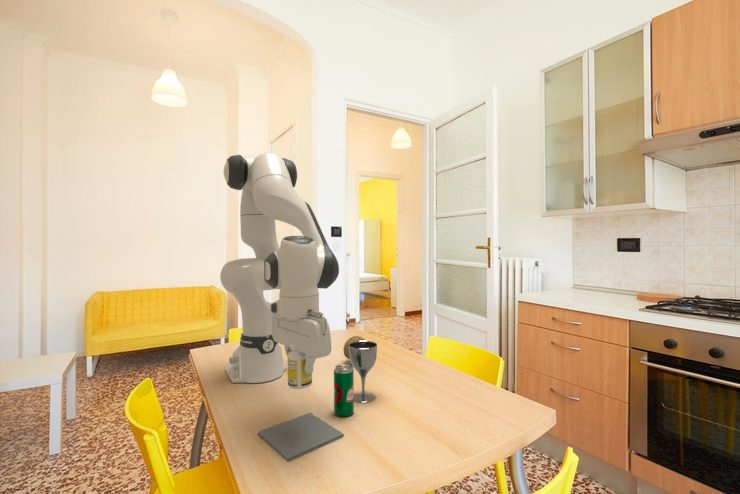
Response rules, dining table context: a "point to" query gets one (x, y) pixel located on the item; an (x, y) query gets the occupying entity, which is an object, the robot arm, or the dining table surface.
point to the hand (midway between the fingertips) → (300, 368)
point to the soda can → (343, 390)
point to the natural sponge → (346, 346)
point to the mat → (299, 436)
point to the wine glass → (363, 365)
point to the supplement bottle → (297, 370)
